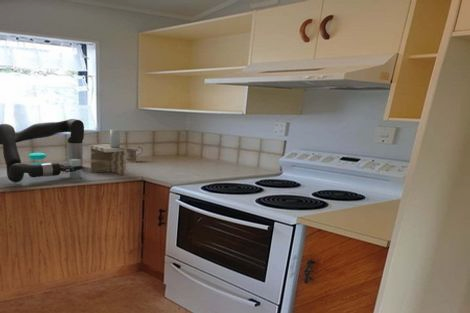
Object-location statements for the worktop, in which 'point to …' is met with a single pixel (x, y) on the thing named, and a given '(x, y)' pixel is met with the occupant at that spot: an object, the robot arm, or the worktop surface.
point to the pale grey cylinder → (115, 138)
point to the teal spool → (37, 157)
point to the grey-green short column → (76, 173)
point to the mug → (131, 155)
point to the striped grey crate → (108, 159)
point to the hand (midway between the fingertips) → (79, 166)
